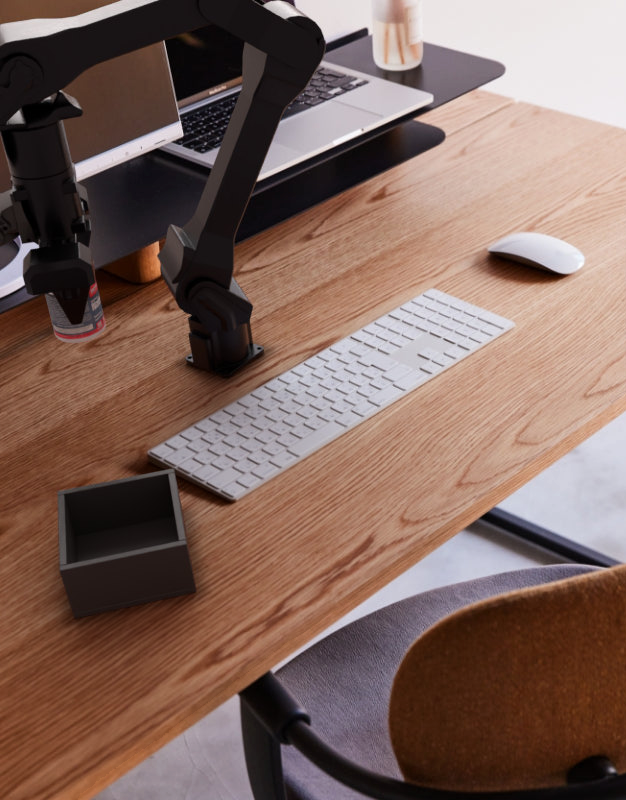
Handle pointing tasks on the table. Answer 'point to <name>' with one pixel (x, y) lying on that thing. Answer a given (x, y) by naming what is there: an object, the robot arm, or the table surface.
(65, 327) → the pill bottle
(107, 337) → the table surface
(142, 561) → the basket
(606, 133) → the table surface
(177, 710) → the table surface
